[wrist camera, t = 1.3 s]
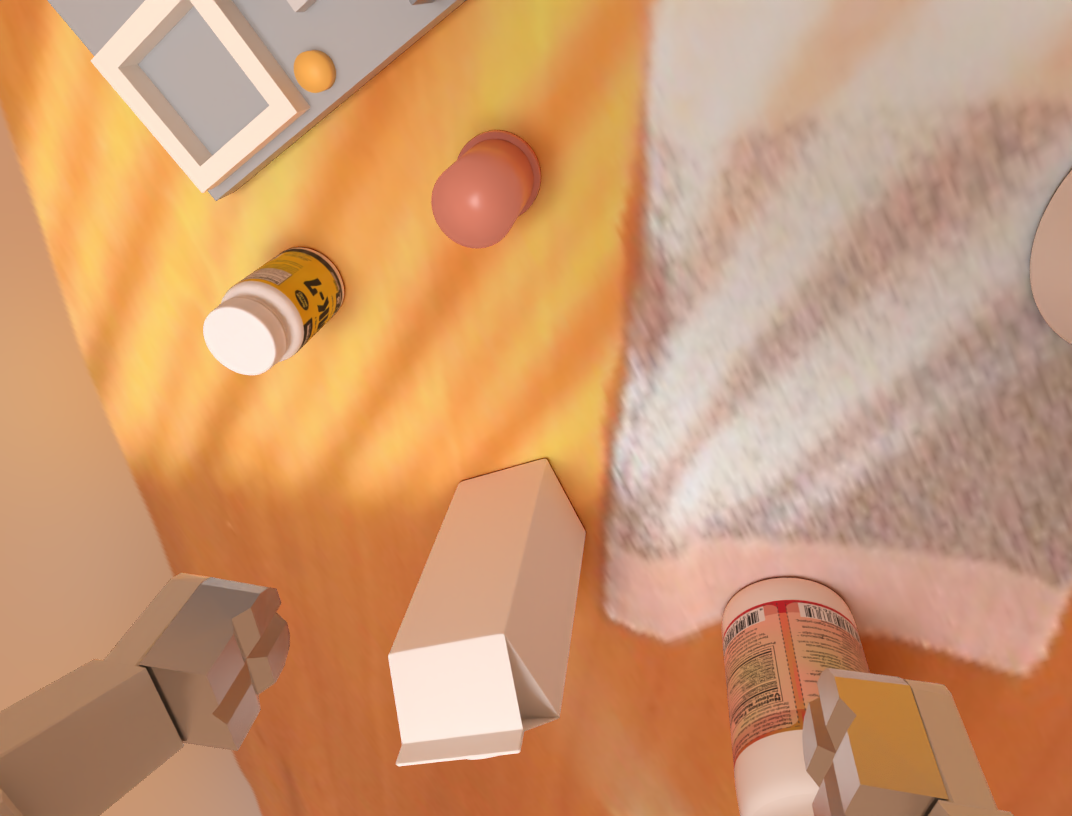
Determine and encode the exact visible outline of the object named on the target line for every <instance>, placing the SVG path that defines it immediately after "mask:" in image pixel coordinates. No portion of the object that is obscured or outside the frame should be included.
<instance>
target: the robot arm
mask: <svg viewBox="0 0 1072 816" xmlns="http://www.w3.org/2000/svg"><path fill="white" fill-rule="evenodd" d="M1030 280H1031V287H1032V292H1033V296H1034V300H1035V302H1036V305H1037V307H1038V309H1039V311H1040V313H1041V315H1042V316H1043V318H1044V319H1045V321H1046V322H1047V324H1048V325H1049V326H1050V327H1051V328H1052V329H1053V330H1054V331H1055V332H1056V333H1057V334H1058V335H1059V336H1060V337H1061V338H1063V339H1064V340H1065V341H1067V342H1068V343H1070V344H1071V345H1072V170H1071V171H1070V173H1069V174H1068V175H1067V176H1066V178H1065V179H1064V181H1063V182H1062V183H1061V185H1060V186H1059V188H1058V189H1057V191H1056V193H1055V194H1054V196H1053V197H1052V199H1051V201H1050V203H1049V205H1048V206H1047V208H1046V210H1045V212H1044V215H1043V217H1042V219H1041V221H1040V224H1039V227H1038V229H1037V232H1036V235H1035V239H1034V243H1033V247H1032V252H1031V261H1030ZM280 605H281V601H280V598H279V595H278V592H277V589H276V588H270V587H264V586H259V585H253V584H247V583H241V582H235V581H229V580H224V579H218V578H213V577H206V576H200V575H193V574H187V573H180V574H178V575H177V576H175V577H173V578H172V579H170V580H169V581H168V582H167V584H166V585H165V586H164V587H163V589H162V590H161V591H160V592H159V593H158V594H157V596H156V597H155V598H154V599H153V601H152V602H151V603H150V604H149V605H148V607H147V608H146V609H145V610H144V611H143V613H142V614H141V615H140V616H139V618H138V619H137V620H136V621H135V622H134V624H133V625H132V626H131V627H130V629H129V630H128V631H127V632H126V633H125V635H124V636H123V637H122V638H121V639H120V641H119V642H118V643H117V644H116V645H115V647H114V648H113V649H112V650H111V651H110V653H109V654H108V655H107V657H106V658H105V659H104V660H98V659H93V660H92V661H90V662H88V663H86V664H84V665H83V666H81V667H79V668H77V669H76V670H74V671H72V672H70V673H69V674H67V675H65V676H63V677H61V678H60V679H58V680H56V681H54V682H52V683H51V684H49V685H47V686H45V687H43V688H42V689H40V690H38V691H37V692H35V693H33V694H31V695H29V696H27V697H26V698H24V699H22V700H20V701H18V702H17V703H15V704H13V705H11V706H10V707H8V708H6V709H4V710H2V711H1V712H0V816H100V815H101V814H102V813H103V812H104V811H106V810H107V809H108V808H109V807H111V806H112V805H113V804H114V803H115V802H117V801H118V800H119V799H120V798H122V797H123V796H124V795H125V794H126V793H128V792H129V791H130V790H131V789H132V788H134V787H135V786H136V785H137V784H139V783H140V782H141V781H142V780H143V779H145V778H146V777H147V776H148V775H150V774H151V773H152V772H153V771H154V770H156V769H157V768H158V767H159V766H161V765H162V764H163V763H164V762H165V761H167V760H168V759H169V758H170V757H172V756H173V755H174V754H175V753H177V751H179V750H180V749H181V748H183V746H184V744H183V743H188V744H196V745H202V746H208V747H215V748H222V749H228V750H235V751H238V749H239V747H240V746H241V744H242V742H243V740H244V738H245V737H246V735H247V733H248V731H249V729H250V728H251V726H252V724H253V722H254V720H255V719H256V717H257V715H258V713H259V711H260V710H261V709H260V702H259V694H260V693H261V692H263V691H264V690H266V689H267V688H269V687H270V686H272V685H273V684H274V683H275V682H276V680H277V679H278V677H279V675H280V673H281V671H282V669H283V667H284V665H285V661H286V658H287V654H288V650H289V647H290V632H289V628H288V625H287V622H286V621H285V620H284V619H283V618H282V617H281V616H280V615H279V614H277V613H276V611H277V610H278V608H279V606H280ZM817 685H818V690H819V695H820V697H818V698H816V699H815V700H813V701H811V702H809V704H808V707H807V710H806V713H805V716H804V723H803V733H802V741H803V754H804V761H805V767H806V771H807V773H808V774H809V775H810V776H811V778H812V779H813V780H814V781H815V783H816V784H817V785H818V787H819V790H818V792H817V794H816V796H815V799H814V801H813V803H812V808H813V813H814V816H1014V815H1013V814H1012V813H1011V812H1007V811H1002V810H998V809H997V806H996V804H995V801H994V799H993V796H992V794H991V791H990V789H989V786H988V784H987V781H986V779H985V776H984V774H983V771H982V769H981V766H980V764H979V761H978V759H977V756H976V754H975V751H974V749H973V746H972V744H971V741H970V739H969V736H968V734H967V731H966V729H965V726H964V724H963V721H962V719H961V716H960V714H959V712H958V709H957V707H956V704H955V702H954V699H953V697H952V694H951V692H950V691H949V690H948V689H947V688H946V687H945V686H944V685H942V684H937V683H930V682H922V681H915V680H908V679H901V678H900V677H893V676H886V675H878V674H871V673H863V672H856V671H848V670H840V669H833V668H826V669H825V670H824V671H822V673H821V675H820V677H819V680H818V682H817Z"/></svg>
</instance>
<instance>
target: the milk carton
mask: <svg viewBox="0 0 1072 816" xmlns="http://www.w3.org/2000/svg"><path fill="white" fill-rule="evenodd" d="M585 535H586V532H585V530H584V528H583V526H582V524H581V522H580V520H579V518H578V517H577V515H576V513H575V511H574V509H573V507H572V505H571V504H570V502H569V500H568V498H567V496H566V494H565V492H564V490H563V489H562V487H561V485H560V483H559V481H558V479H557V477H556V475H555V474H554V472H553V470H552V468H551V466H550V464H549V462H548V460H547V459H541V460H537V461H533V462H529V463H526V464H522V465H519V466H515V467H512V468H508V469H504V470H501V471H497V472H494V473H490V474H487V475H483V476H479V477H476V478H472V479H469V480H465V481H462V482H460V483H459V484H458V486H457V489H456V491H455V494H454V496H453V499H452V501H451V504H450V506H449V508H448V511H447V513H446V516H445V518H444V521H443V523H442V526H441V528H440V531H439V533H438V535H437V538H436V540H435V543H434V545H433V548H432V550H431V553H430V555H429V558H428V560H427V562H426V565H425V567H424V570H423V572H422V575H421V577H420V580H419V582H418V585H417V587H416V589H415V592H414V594H413V597H412V599H411V602H410V604H409V607H408V609H407V612H406V614H405V616H404V619H403V621H402V624H401V626H400V629H399V631H398V634H397V636H396V638H395V641H394V643H393V646H392V648H391V651H390V653H389V655H388V658H389V665H390V671H391V677H392V684H393V690H394V696H395V703H396V709H397V715H398V721H399V728H400V734H401V740H402V746H401V749H400V752H399V755H398V758H397V761H396V765H397V766H406V765H415V764H424V763H433V762H442V761H451V760H460V759H469V760H476V759H484V758H490V757H495V756H498V755H506V754H515V753H519V752H520V751H521V745H522V740H523V735H524V731H527V730H529V729H532V728H535V727H537V726H540V725H543V724H545V723H548V722H551V721H553V720H556V719H558V718H560V711H561V705H562V698H563V691H564V684H565V677H566V670H567V663H568V656H569V649H570V641H571V634H572V627H573V620H574V613H575V606H576V599H577V592H578V585H579V578H580V571H581V564H582V556H583V549H584V542H585Z"/></svg>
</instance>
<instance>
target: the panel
mask: <svg viewBox="0 0 1072 816" xmlns="http://www.w3.org/2000/svg"><path fill="white" fill-rule="evenodd" d="M47 1H48V2H49V3H50V4H51V5H52V6H53V8H54V9H55V10H56V11H57V12H58V14H59V15H60V16H61V17H62V18H63V20H64V21H65V22H66V23H67V24H68V26H69V27H70V28H71V29H72V30H73V31H74V33H75V34H76V35H77V36H78V37H79V39H80V40H81V41H82V42H83V43H84V45H85V46H86V47H87V48H88V49H89V51H90V52H91V53H92V54H93V55H94V57H93V59H92V60H91V62H92V63H93V65H94V66H95V67H96V68H97V69H98V70H99V72H100V73H101V74H102V75H103V76H104V78H105V79H106V80H107V81H108V82H109V83H110V85H111V86H112V87H113V88H114V89H115V91H116V92H117V93H118V94H119V95H120V96H121V98H122V99H123V100H124V101H125V102H126V104H127V105H128V106H129V107H130V108H131V109H132V111H133V112H134V113H135V114H136V115H137V117H138V118H139V119H140V120H141V121H142V123H143V124H144V125H145V126H146V127H147V128H148V130H149V131H150V132H151V133H152V134H153V136H154V137H155V138H156V139H157V140H158V141H159V143H160V144H161V145H162V146H163V147H164V149H165V150H166V151H167V152H168V153H169V154H170V156H171V157H172V158H173V159H174V160H175V162H176V163H177V164H178V165H179V166H180V167H181V169H182V170H183V171H184V172H185V173H186V175H187V176H188V177H189V178H190V179H191V181H192V182H193V183H194V184H195V185H196V186H197V188H198V189H199V190H200V191H201V192H202V193H204V192H206V191H208V192H209V193H210V195H211V196H212V197H213V198H214V199H215V200H216V201H217V200H219V199H221V198H223V197H225V196H227V195H229V194H231V193H233V192H235V191H236V190H237V189H239V188H240V187H241V186H242V185H244V184H245V183H246V182H247V181H248V180H250V179H251V178H252V177H253V176H254V175H256V174H257V173H258V172H259V171H260V170H262V169H263V168H264V167H265V166H266V165H268V164H269V163H270V162H271V161H273V160H274V159H275V158H276V157H277V156H279V155H280V154H281V153H282V152H283V151H285V150H286V149H287V148H288V147H289V146H291V145H292V144H293V143H294V142H295V141H297V140H298V139H299V138H300V137H302V136H303V135H304V134H305V133H306V132H308V131H309V130H310V129H311V128H312V127H314V126H315V125H316V124H317V123H318V122H320V121H321V120H322V119H323V118H324V117H326V116H327V115H328V114H329V113H331V112H332V111H333V110H334V109H335V108H337V107H338V106H339V105H340V104H341V103H343V102H344V101H345V100H346V99H347V98H349V97H350V96H351V95H352V94H353V93H355V92H356V91H357V90H358V89H360V88H361V87H362V86H363V85H364V84H366V83H367V82H368V81H369V80H370V79H372V78H373V77H374V76H375V75H376V74H378V73H379V72H380V71H381V70H382V69H384V68H385V67H386V66H387V65H389V64H390V63H391V62H392V61H393V60H395V59H396V58H397V57H398V56H399V55H401V54H402V53H403V52H404V51H405V50H407V49H408V48H409V47H410V46H411V45H413V44H414V43H415V42H416V41H418V40H419V39H420V38H421V37H422V36H424V35H425V34H426V33H427V32H428V31H430V30H431V29H432V28H433V27H434V26H436V25H437V24H438V23H439V22H440V21H442V20H443V19H444V18H445V17H447V16H448V15H449V14H450V13H451V12H453V11H454V10H455V9H456V8H457V7H459V6H460V5H461V4H462V3H463V2H465V1H466V0H435V1H434V2H433V3H427V4H418V5H411V3H410V2H409V0H47Z"/></svg>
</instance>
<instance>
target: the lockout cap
mask: <svg viewBox="0 0 1072 816" xmlns="http://www.w3.org/2000/svg"><path fill="white" fill-rule="evenodd" d="M540 184H541V170H540V165H539V162H538V159H537V157H536V155H535V153H534V151H533V150H532V148H531V147H530V146H529V145H528V144H527V143H526V142H525V141H524V140H523V139H521V138H520V137H518V136H517V135H515V134H513V133H510V132H507V131H501V130H492V131H487V132H484V133H481V134H479V135H477V136H476V137H474V138H473V139H472V140H471V141H469V142H468V143H467V144H466V145H465V146H464V148H463V149H462V151H461V152H460V154H459V156H458V159H457V161H456V162H455V163H453V164H452V165H451V166H450V167H449V168H448V169H447V170H445V171H444V172H443V173H442V174H441V176H440V177H439V178H438V180H437V181H436V183H435V185H434V188H433V192H432V201H431V202H432V210H433V214H434V217H435V220H436V222H437V224H438V225H439V227H440V229H441V230H442V231H443V232H444V233H445V234H446V235H447V236H448V237H449V238H450V239H451V240H453V241H454V242H456V243H458V244H460V245H462V246H465V247H470V248H485V247H489V246H492V245H494V244H496V243H498V242H499V241H500V240H502V239H503V238H504V237H505V236H506V234H507V233H508V232H509V230H510V229H511V227H512V225H513V224H514V222H515V220H516V219H517V217H518V216H520V215H521V214H523V213H524V212H525V211H526V210H527V209H528V208H529V207H530V206H531V205H532V203H533V202H534V200H535V198H536V196H537V194H538V192H539V188H540Z"/></svg>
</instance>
